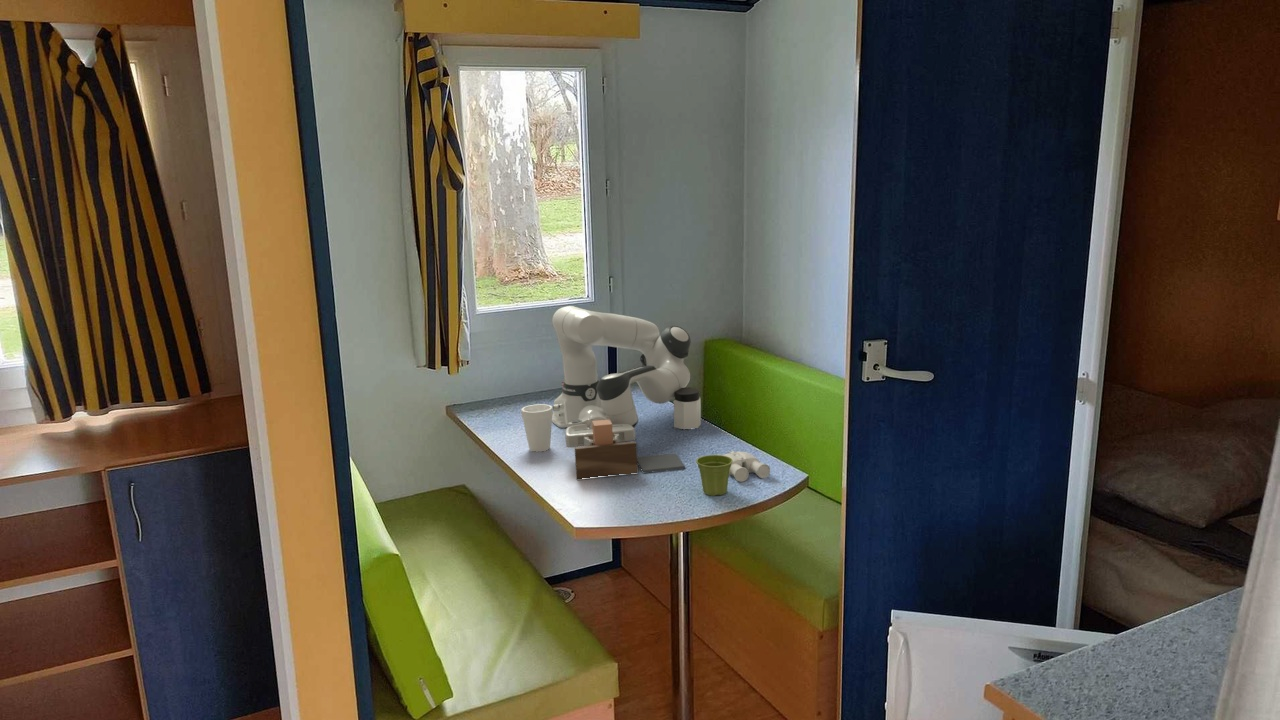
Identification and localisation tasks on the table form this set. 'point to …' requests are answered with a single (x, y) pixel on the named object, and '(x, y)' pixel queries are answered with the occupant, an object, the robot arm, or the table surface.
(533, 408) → the foam cup
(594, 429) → the marked block
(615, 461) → the low board
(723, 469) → the plant pot
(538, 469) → the table surface
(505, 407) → the table surface
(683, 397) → the jar
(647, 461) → the slate pad
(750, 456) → the binoculars
